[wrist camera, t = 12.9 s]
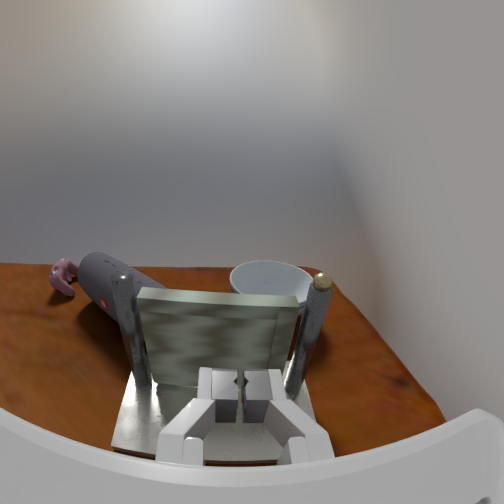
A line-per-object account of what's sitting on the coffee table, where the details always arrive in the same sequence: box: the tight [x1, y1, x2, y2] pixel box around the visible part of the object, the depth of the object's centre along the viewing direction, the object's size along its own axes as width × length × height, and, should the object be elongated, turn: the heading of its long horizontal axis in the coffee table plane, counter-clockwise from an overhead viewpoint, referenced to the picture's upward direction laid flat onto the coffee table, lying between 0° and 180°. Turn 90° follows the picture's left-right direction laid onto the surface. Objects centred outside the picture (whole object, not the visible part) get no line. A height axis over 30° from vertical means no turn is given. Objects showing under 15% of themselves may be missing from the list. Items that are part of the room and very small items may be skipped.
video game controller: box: [49, 258, 79, 296], centre depth 49 cm, size 10×5×7 cm, turn 16°
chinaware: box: [230, 261, 313, 315], centre depth 49 cm, size 15×15×8 cm
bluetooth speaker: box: [77, 252, 167, 342], centre depth 42 cm, size 23×9×10 cm, turn 59°
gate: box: [137, 287, 300, 389], centre depth 29 cm, size 16×2×14 cm, turn 94°
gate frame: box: [110, 271, 332, 464], centre depth 26 cm, size 24×16×19 cm, turn 94°
